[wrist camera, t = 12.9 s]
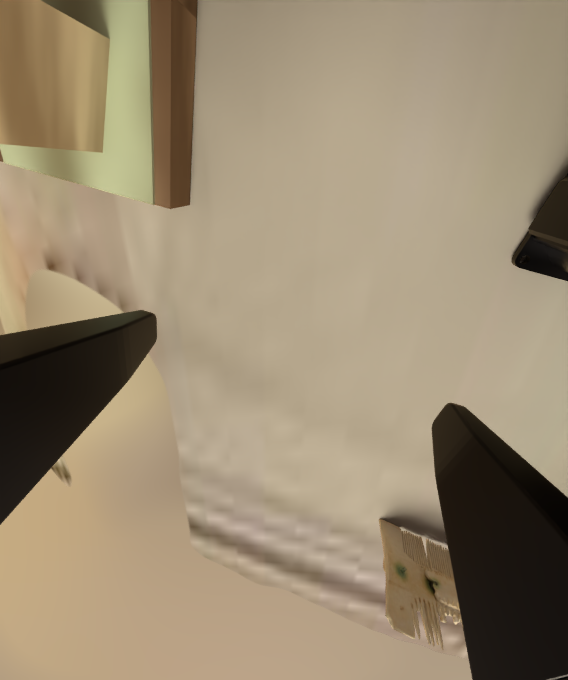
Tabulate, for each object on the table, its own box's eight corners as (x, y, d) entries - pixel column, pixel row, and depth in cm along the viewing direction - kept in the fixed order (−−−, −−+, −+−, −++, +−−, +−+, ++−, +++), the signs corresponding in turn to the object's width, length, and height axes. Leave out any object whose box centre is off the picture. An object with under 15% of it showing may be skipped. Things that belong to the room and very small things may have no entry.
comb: (371, 522, 34) (379, 638, 26) (380, 513, 33) (392, 631, 24) (487, 565, 34) (534, 696, 25) (501, 558, 33) (555, 693, 24)
